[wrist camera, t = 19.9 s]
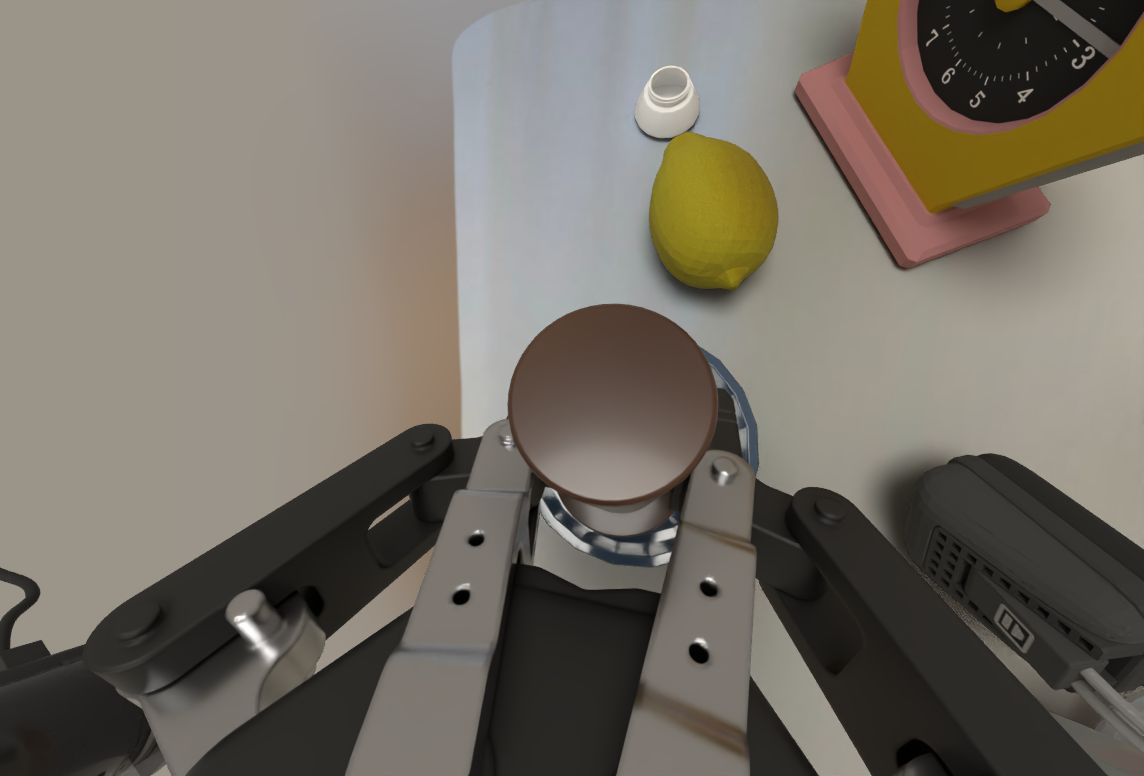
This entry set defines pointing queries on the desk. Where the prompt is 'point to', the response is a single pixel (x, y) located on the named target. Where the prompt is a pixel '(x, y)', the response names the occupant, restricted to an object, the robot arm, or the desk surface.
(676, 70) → the lidless jar
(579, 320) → the pestle
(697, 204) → the lemon
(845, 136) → the retro desk clock
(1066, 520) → the headphones
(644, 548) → the bowl
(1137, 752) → the mug
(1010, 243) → the desk surface
